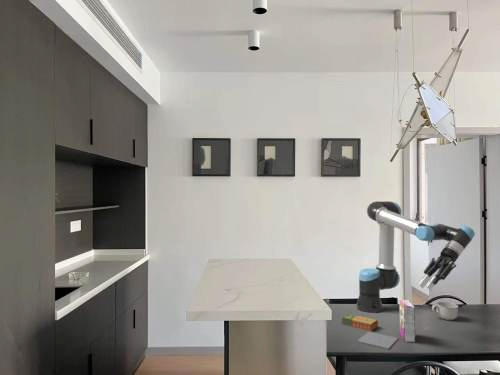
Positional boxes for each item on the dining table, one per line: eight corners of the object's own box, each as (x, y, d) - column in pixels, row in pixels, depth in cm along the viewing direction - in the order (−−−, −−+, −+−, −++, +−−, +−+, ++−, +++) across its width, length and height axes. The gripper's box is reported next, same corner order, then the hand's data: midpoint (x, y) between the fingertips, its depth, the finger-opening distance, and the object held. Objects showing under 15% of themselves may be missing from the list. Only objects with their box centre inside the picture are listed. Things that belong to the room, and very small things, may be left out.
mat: (368, 332, 180) (368, 331, 180) (397, 339, 172) (397, 338, 172) (357, 341, 168) (357, 340, 168) (388, 349, 160) (388, 348, 160)
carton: (371, 332, 182) (371, 323, 182) (341, 324, 193) (341, 316, 193) (378, 328, 188) (378, 319, 188) (349, 320, 199) (349, 313, 199)
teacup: (452, 315, 208) (452, 301, 209) (462, 322, 198) (461, 307, 198) (427, 314, 210) (427, 300, 210) (435, 321, 199) (434, 306, 199)
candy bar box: (399, 333, 180) (398, 299, 180) (410, 334, 179) (409, 300, 179) (403, 341, 169) (403, 305, 169) (415, 342, 168) (415, 306, 168)
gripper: (470, 259, 175) (443, 296, 170) (442, 254, 192) (416, 288, 186) (461, 248, 174) (433, 286, 169) (434, 244, 190) (407, 278, 185)
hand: (424, 287), depth 178 cm, fingers open, 4 cm apart
